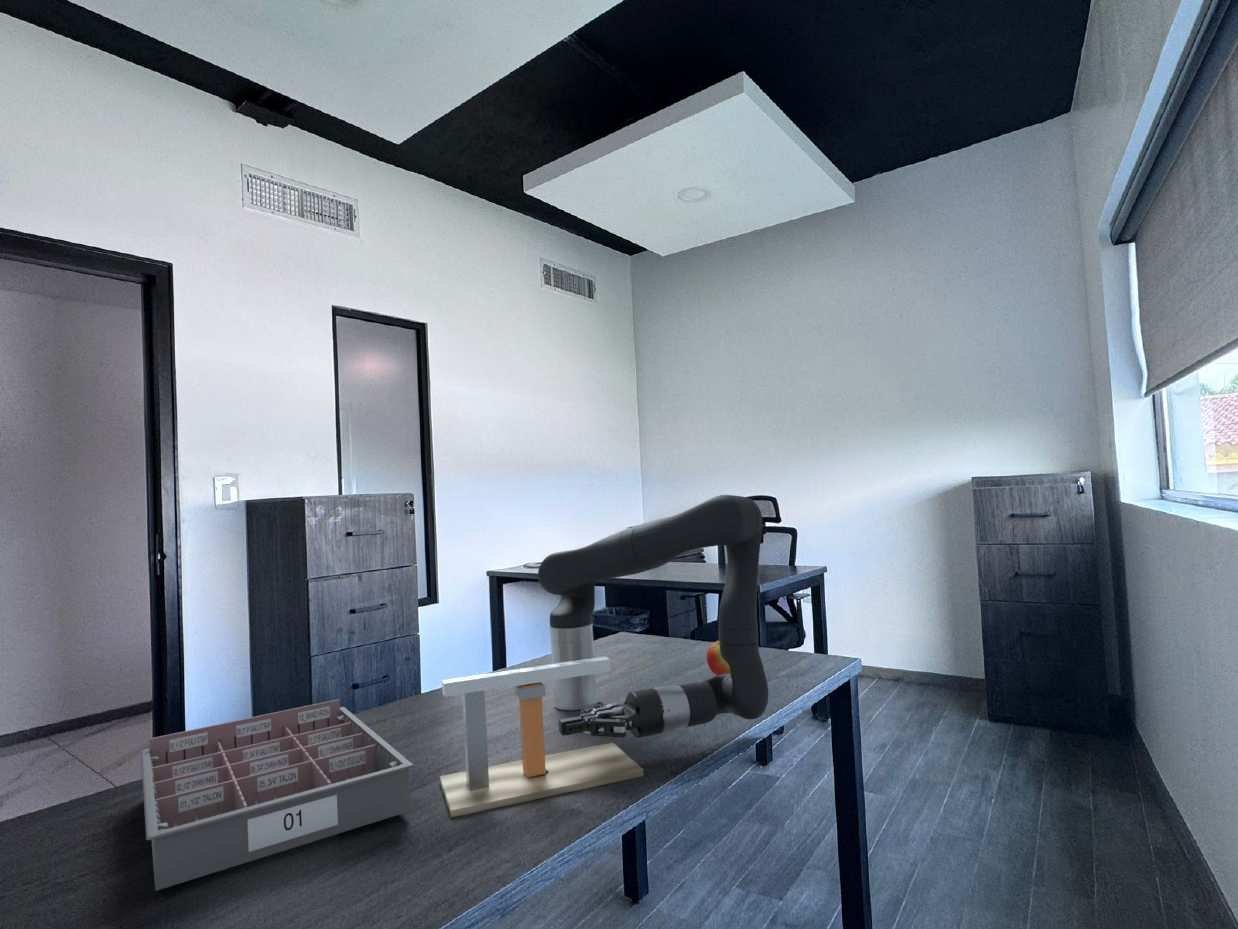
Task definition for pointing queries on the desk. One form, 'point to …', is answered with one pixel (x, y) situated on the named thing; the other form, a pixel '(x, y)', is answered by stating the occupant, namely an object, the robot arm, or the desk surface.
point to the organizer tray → (264, 788)
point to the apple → (717, 660)
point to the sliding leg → (532, 728)
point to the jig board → (540, 779)
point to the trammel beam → (477, 684)
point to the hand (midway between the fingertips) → (560, 728)
